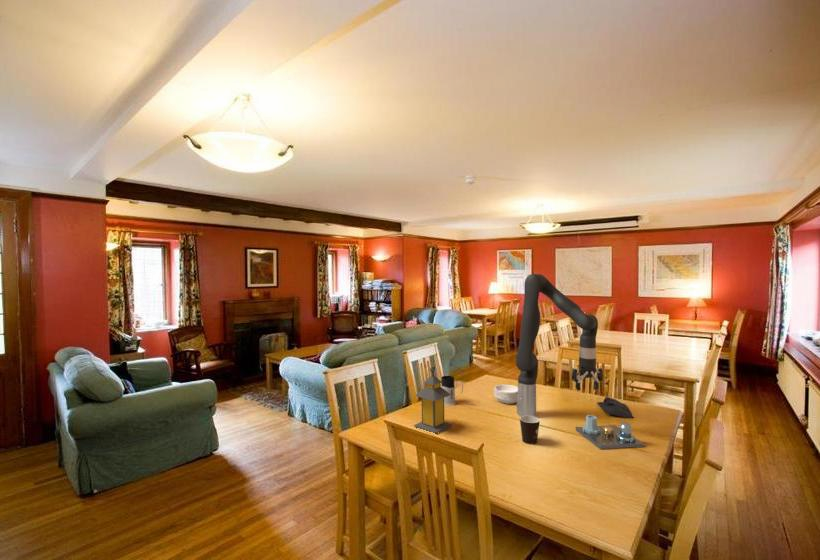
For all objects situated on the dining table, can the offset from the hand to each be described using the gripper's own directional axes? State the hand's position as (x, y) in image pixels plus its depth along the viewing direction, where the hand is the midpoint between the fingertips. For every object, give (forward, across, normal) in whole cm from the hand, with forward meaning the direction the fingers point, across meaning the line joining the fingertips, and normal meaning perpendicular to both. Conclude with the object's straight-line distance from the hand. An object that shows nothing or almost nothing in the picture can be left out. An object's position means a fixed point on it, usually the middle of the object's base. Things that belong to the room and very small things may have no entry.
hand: (586, 389), depth 184 cm
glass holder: (+21, -57, +43) cm, 74 cm away
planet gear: (+18, 0, -5) cm, 18 cm away
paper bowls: (+20, -24, +44) cm, 54 cm away
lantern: (+21, -73, +12) cm, 76 cm away
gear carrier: (+19, +5, -10) cm, 22 cm away
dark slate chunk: (+20, +29, +23) cm, 42 cm away
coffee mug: (+20, -30, -9) cm, 37 cm away
